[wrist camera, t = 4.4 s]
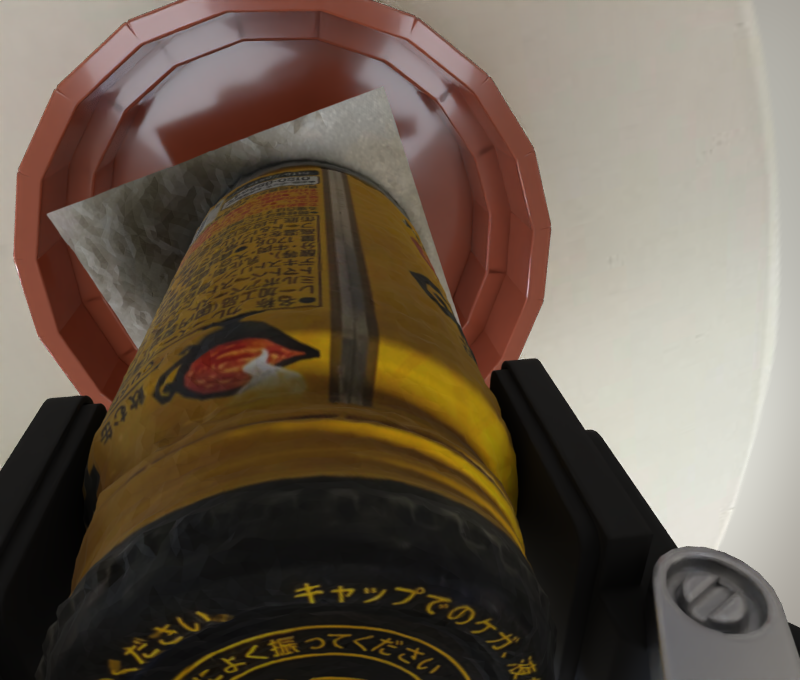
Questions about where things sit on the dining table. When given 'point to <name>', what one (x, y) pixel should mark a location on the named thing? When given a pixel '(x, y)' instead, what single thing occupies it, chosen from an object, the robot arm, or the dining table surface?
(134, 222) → the condiment
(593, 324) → the dining table surface
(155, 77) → the bowl
